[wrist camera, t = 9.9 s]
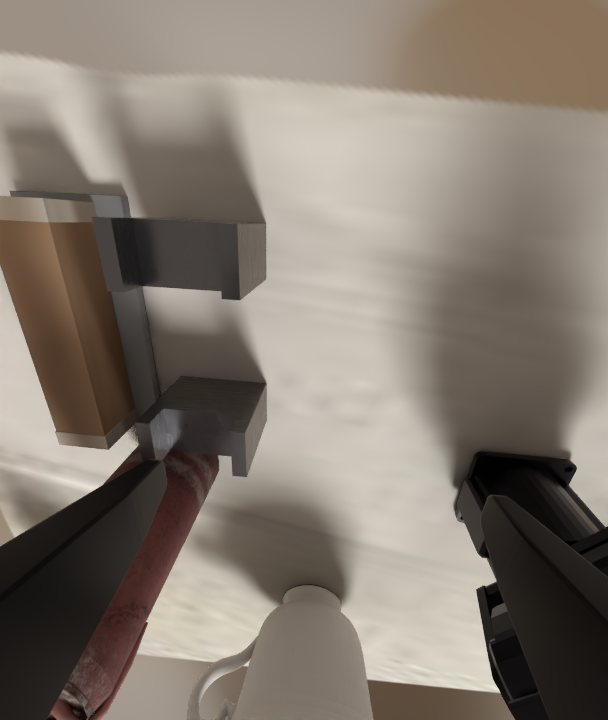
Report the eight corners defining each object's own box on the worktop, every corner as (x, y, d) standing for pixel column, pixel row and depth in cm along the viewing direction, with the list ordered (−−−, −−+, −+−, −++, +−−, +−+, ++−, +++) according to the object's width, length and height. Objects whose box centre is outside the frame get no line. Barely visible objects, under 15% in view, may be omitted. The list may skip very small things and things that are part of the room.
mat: (127, 196, 17) (120, 195, 17) (163, 421, 23) (159, 426, 23) (19, 191, 18) (9, 190, 17) (83, 413, 24) (77, 418, 23)
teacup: (220, 549, 29) (167, 701, 20) (383, 572, 28) (406, 741, 19) (225, 623, 34) (184, 772, 25) (364, 644, 33) (374, 806, 24)
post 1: (265, 223, 17) (237, 224, 12) (266, 279, 18) (240, 300, 13) (161, 218, 18) (91, 216, 13) (167, 272, 19) (107, 291, 14)
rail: (94, 202, 17) (42, 198, 14) (138, 419, 23) (108, 449, 20) (37, 199, 17) (-26, 194, 14) (95, 415, 23) (59, 444, 20)
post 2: (266, 383, 21) (245, 433, 16) (266, 420, 23) (246, 476, 18) (181, 376, 22) (134, 422, 17) (185, 412, 23) (143, 465, 18)
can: (211, 495, 26) (88, 756, 13) (138, 465, 26) (-62, 706, 13) (235, 444, 24) (114, 702, 11) (156, 409, 23) (-69, 638, 10)
